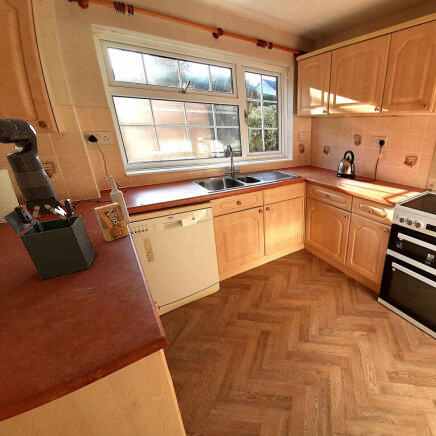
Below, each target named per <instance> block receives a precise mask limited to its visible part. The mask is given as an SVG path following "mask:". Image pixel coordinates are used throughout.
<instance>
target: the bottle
mask: <svg viewBox="0 0 436 436" xmlns="http://www.w3.org/2000/svg"><path fill="white" fill-rule="evenodd" d="M107 177H108V181H109V183H110V186H111V191H110V193H109V196H110V199H111V201H112V204H113V203H118V204H120V206H121V210H122V213H123V216H124V219H125V222H126V225H129V224H131V223H132V220H131V218H130V215H129V211H128V208H127V205H126V200H125V198H124V193H123V192H122V191H121V190H119V188H117V187H118V186H117V184H116V181H115V178H114V175H108V176H107Z"/></svg>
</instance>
